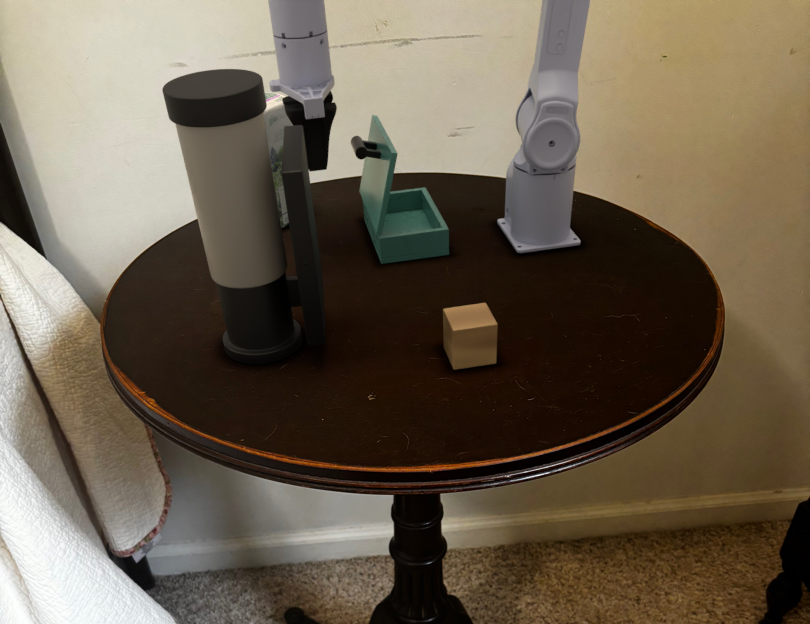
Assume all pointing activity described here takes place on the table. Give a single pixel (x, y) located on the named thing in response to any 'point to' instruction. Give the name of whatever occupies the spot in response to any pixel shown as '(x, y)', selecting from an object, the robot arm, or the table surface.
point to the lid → (376, 171)
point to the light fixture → (249, 213)
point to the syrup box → (277, 146)
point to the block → (470, 336)
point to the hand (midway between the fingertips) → (316, 166)
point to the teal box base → (410, 228)
